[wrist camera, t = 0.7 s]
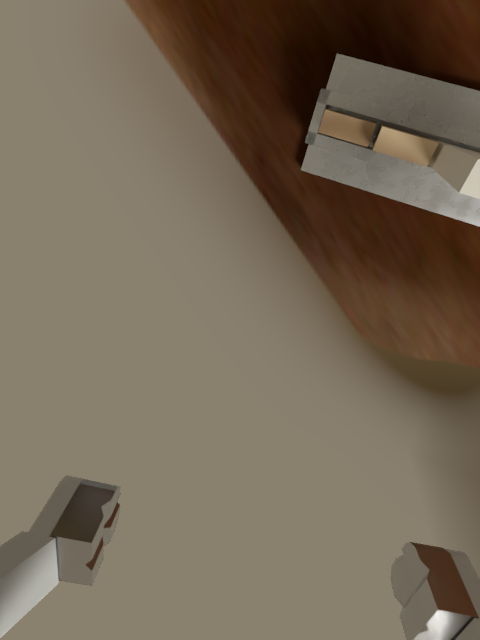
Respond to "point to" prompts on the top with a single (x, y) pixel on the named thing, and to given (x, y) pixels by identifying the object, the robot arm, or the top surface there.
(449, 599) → the robot arm
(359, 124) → the short offcut
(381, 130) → the tall offcut
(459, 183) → the tall panel
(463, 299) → the top surface
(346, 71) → the slot rack
